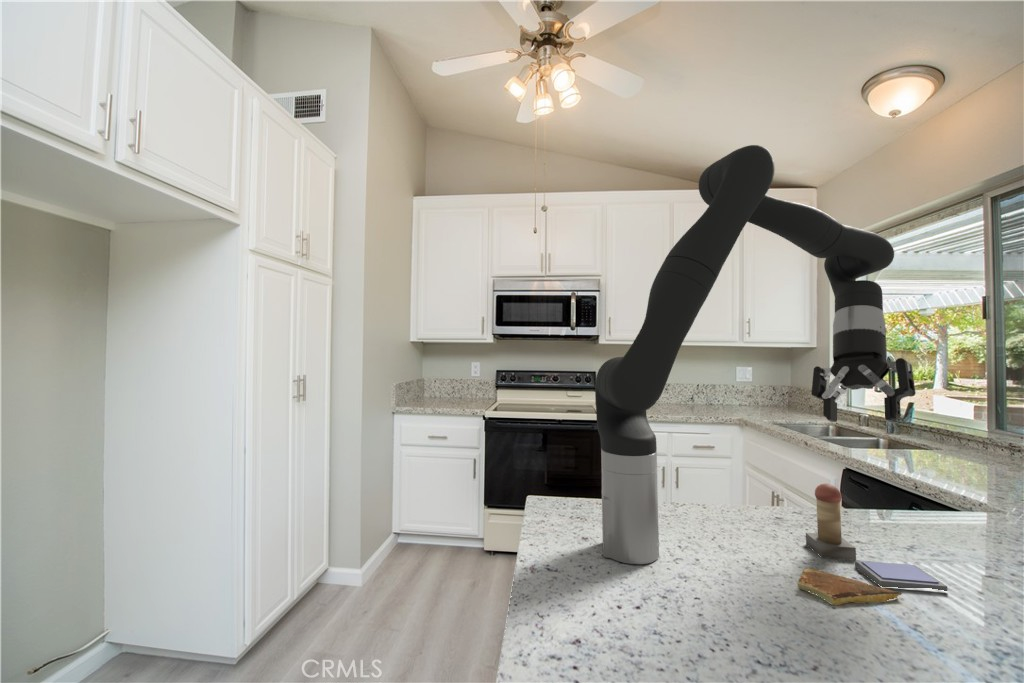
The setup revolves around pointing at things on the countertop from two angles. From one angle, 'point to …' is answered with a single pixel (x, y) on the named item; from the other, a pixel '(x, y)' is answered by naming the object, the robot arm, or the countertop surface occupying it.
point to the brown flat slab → (842, 588)
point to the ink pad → (898, 575)
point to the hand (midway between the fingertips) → (859, 420)
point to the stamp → (829, 526)
